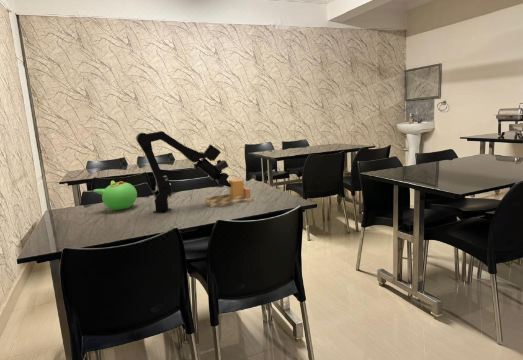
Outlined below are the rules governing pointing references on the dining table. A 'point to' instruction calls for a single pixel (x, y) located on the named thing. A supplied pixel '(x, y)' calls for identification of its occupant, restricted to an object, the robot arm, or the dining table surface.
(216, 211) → the dining table surface
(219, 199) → the checkered wooden board
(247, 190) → the stop band
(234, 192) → the orange block
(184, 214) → the dining table surface
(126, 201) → the green teapot
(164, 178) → the medicine bottle
